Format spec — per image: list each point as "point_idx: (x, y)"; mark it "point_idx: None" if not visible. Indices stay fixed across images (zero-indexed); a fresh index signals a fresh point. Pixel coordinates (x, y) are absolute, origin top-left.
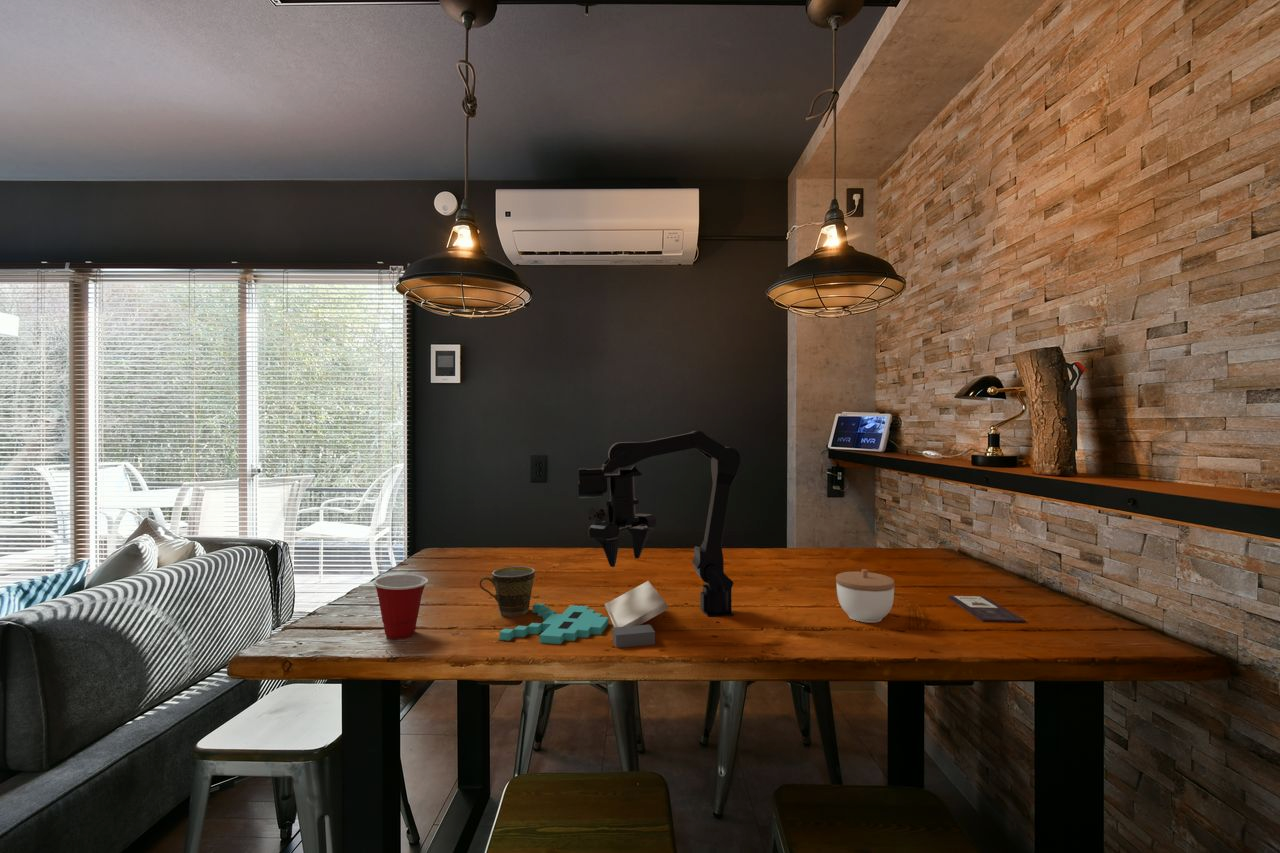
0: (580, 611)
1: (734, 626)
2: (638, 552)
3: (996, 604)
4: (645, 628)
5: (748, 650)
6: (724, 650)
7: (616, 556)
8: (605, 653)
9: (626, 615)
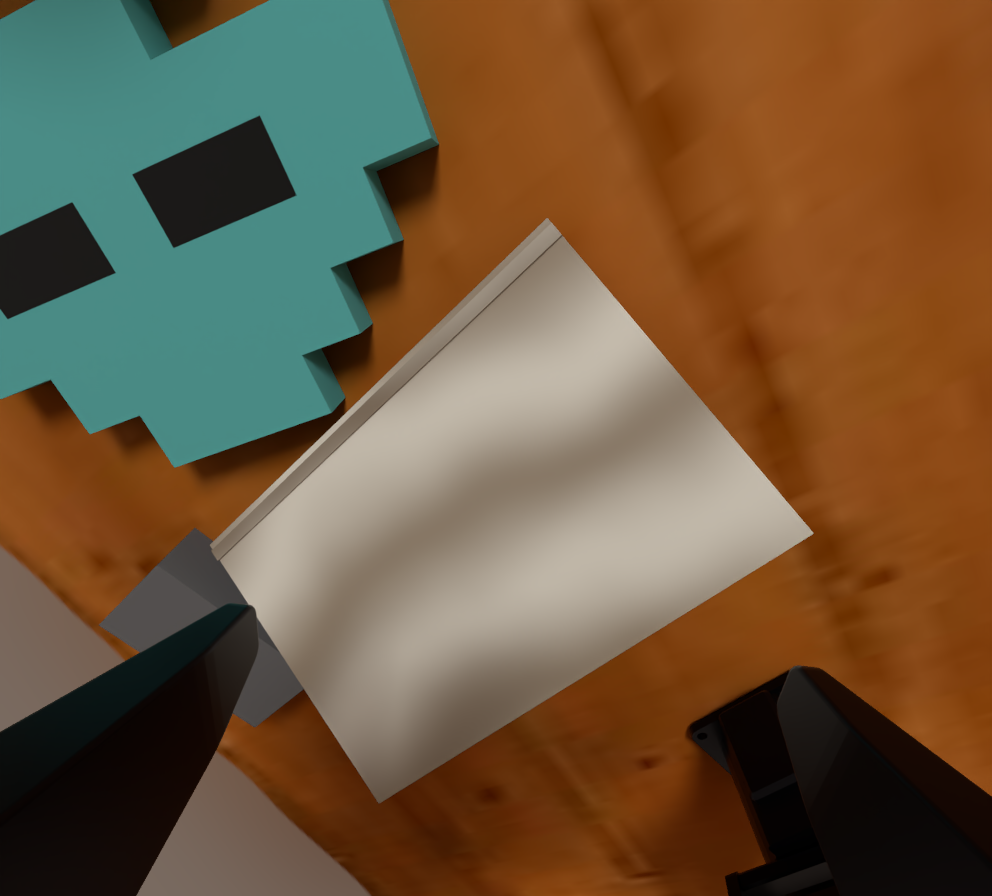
0: (297, 162)
1: (625, 814)
2: (816, 800)
3: None
4: (258, 685)
5: (432, 884)
6: (389, 843)
7: (154, 835)
8: (72, 574)
9: (328, 551)
